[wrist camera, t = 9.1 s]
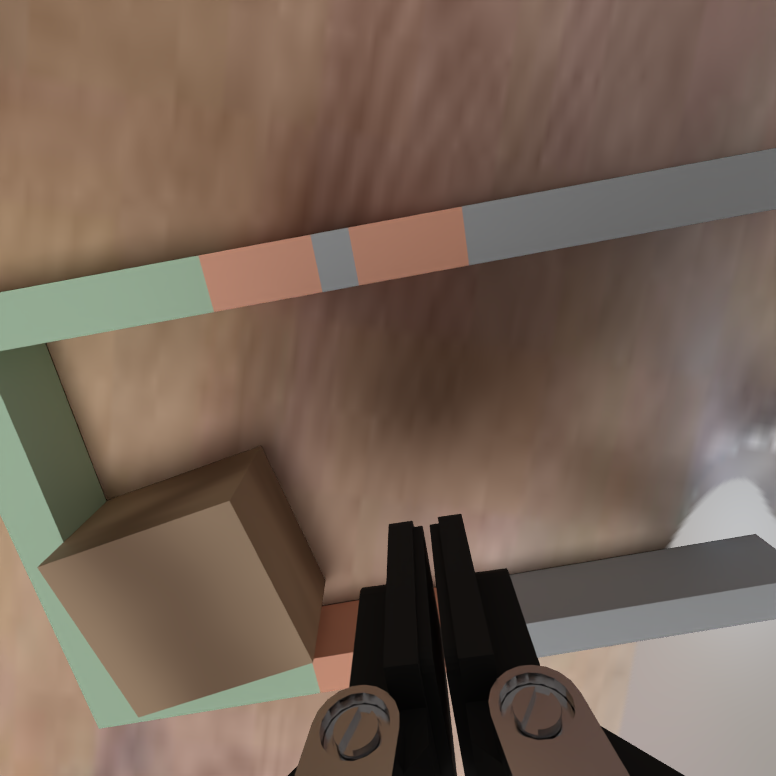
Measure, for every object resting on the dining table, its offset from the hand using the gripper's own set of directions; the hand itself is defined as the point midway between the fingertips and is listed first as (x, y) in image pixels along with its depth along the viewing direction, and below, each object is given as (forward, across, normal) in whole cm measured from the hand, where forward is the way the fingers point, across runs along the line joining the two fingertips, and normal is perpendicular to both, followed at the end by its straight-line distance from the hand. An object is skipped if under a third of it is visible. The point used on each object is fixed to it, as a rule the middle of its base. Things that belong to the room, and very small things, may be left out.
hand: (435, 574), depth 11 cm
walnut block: (+6, +8, +2) cm, 10 cm away
